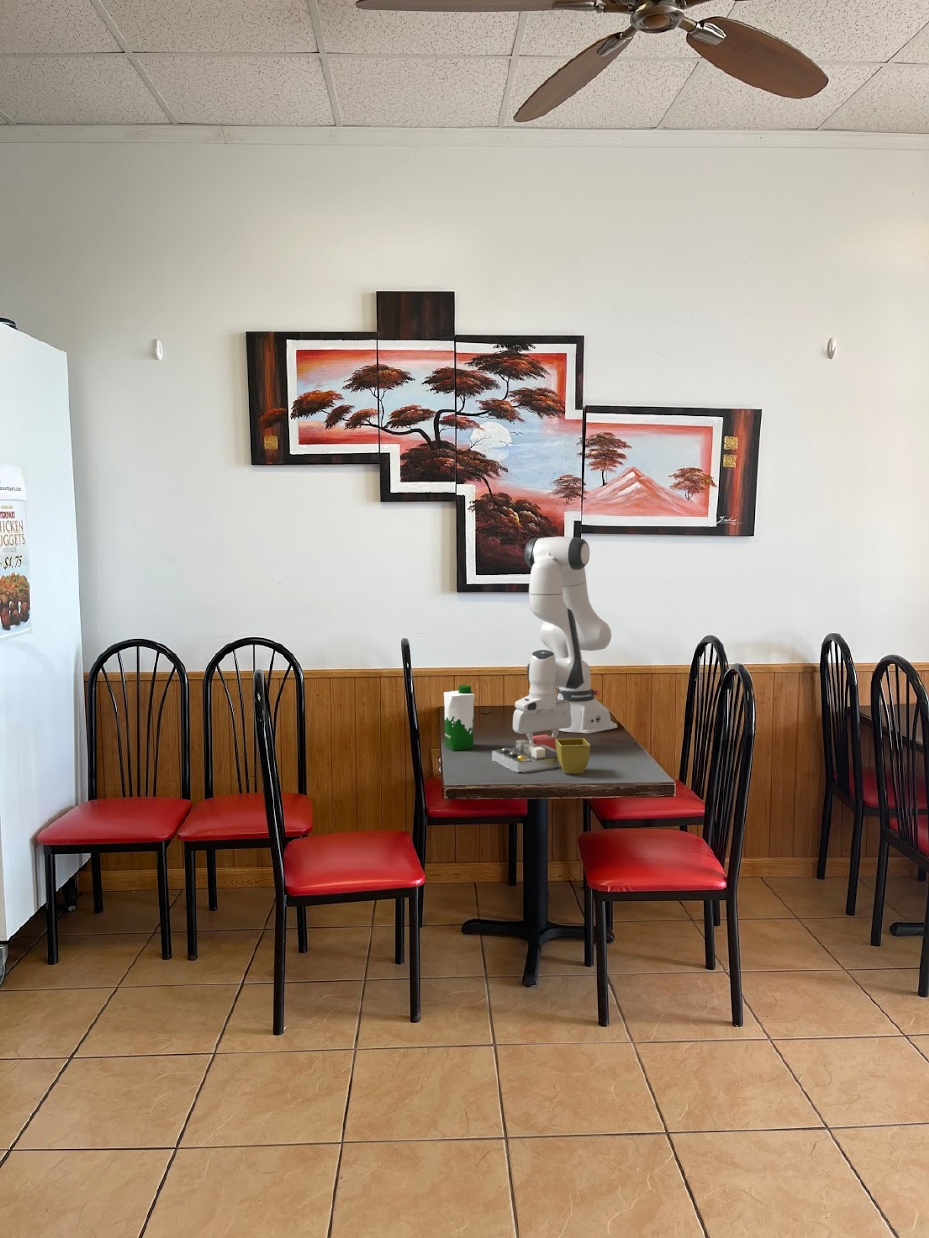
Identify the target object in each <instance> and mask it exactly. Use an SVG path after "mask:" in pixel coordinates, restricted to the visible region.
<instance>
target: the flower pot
mask: <svg viewBox="0 0 929 1238" xmlns="http://www.w3.org/2000/svg"><path fill="white" fill-rule="evenodd" d="M555 750H557V757H558V761H559V763H560V766H561V767H560V768H561V769H562V771H563V772H564V773H565V774H567V775H571V774H573V775H574V774H579V775H581V774H583V773H584V772H585V770H586V768H587V767H588V763H589V759H590V752H591V751H590V750H591V744H590V743H589V742H588V741H587V740H586V739H585V738H556V749H555Z"/></svg>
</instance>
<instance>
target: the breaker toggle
mask: <svg viewBox="0 0 929 1238" xmlns="http://www.w3.org/2000/svg"><path fill="white" fill-rule="evenodd" d="M531 756H533V757H535V758H542V757H545V748H542V747H533V748H531Z"/></svg>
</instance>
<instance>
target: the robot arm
mask: <svg viewBox="0 0 929 1238" xmlns="http://www.w3.org/2000/svg"><path fill="white" fill-rule="evenodd" d="M590 555H591V554H590V546H589V543H588V542H587V541H586V539H584V538H581V537H576V536H575V537H569V536H560V535H559V536H549V537H548V536H547V537H535V538H531V539H529V540H528V541H527V543H526V545H525V548H524V556H523V557H524V560H525V563H526V565H527V566H528V568H530V576H529V583H528V584H529V585H528V602H529V603H528V604H529V609H530V610H531V613H532V614H533V615H534V616H535V617H537V619H539V620H541V621H543V622H542V624H541V625H540V629H539V638H540V641H541V643H543V646H545V647H547V648H548V649H539V650H535V651H533V652H532V653H531V655H530V659H529V663H528V664H527V665H526V666H527V667H526V669H527V670H526V674H527V675H526V677H527V678H526V680H527V682H529V686H530V687H529V689H528V695H527V696H524V697H522V698H520V699H518V700H516V701H515V702H514V707H515V710H514V712H513V715H512V730H513V731H514V732H515V733H517V734H522V735H523V734H525V735H526V737H527V739H528V741H529V743H534V744H536V740H534V739H533V738H532V736H534V733H536V732H537V733H539V732H546V731H551V732H552V734H551V737H553V738H556V739H557V737H558V735H559V733H560V731H561V732H567V733H578V734H579V733H580V734H581V733H582V734H593V733H599V732H603V731H607V730H612V729H616V728H617V729H618V724H617V723H616V722H613V721H612V720H611V714H610V713H611V712H610V710H609V709H608V708H607V707H606V706H604V705H603V704H602V703H601V702H600V701H598V700H597V699H596V698H595V696H597V697H599V696H600V694H601V691H600V689H593V688H591V680H592V679H591V667H590V666H589V664H588V663H587V662H586V661H585V660H583V658H582V657H583V656H582V652H581V651H587V652H589V651H590V652H591V651H592V652H593V651H599V650H600V651H601V650H605V649H606V648H608V647H609V644H610V642H611V640H612V630H611V628H610V626H609V624H608V622H606V621H605V620H603V619H602V618H600V616H599V615H598V614H597V613H596V611H595V610H594V609H593V607H592V605H591V602H590V598H589V593H588V591H589V590H588V586H587V585H588V584H587V574H586V569H585V567H586V566H587V565H588V563H589V560H590ZM556 688H557V689H556Z"/></svg>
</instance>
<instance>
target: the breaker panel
mask: <svg viewBox="0 0 929 1238" xmlns="http://www.w3.org/2000/svg"><path fill="white" fill-rule="evenodd" d="M533 747H542V748H545V757H542V758H535V757H533V756H531V748H533ZM494 761H496V762H498V763H499V764H498V763H497V764H498V765H500V764H501V765H500V766H502V765H503V766H502V767H503V768H504V767H505V768H506V769H508V768H509V769H508V770H510V771H512V772H514V771H516V772H522V771H530V772H536V771H542V770H549V769H550V770H551V769H557V767H558V768H561V766H560V763H559V761H558V757H557V750H556V749H553V748H550V747H548V746H545V745H543V744H541V745H536V744H534V743H529V740H526V739H517V740H515V746H514V747H510V748H508V747H501V748H500V749H495V750H491V762H494ZM496 762H495V763H496ZM516 772H515V773H516Z"/></svg>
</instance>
